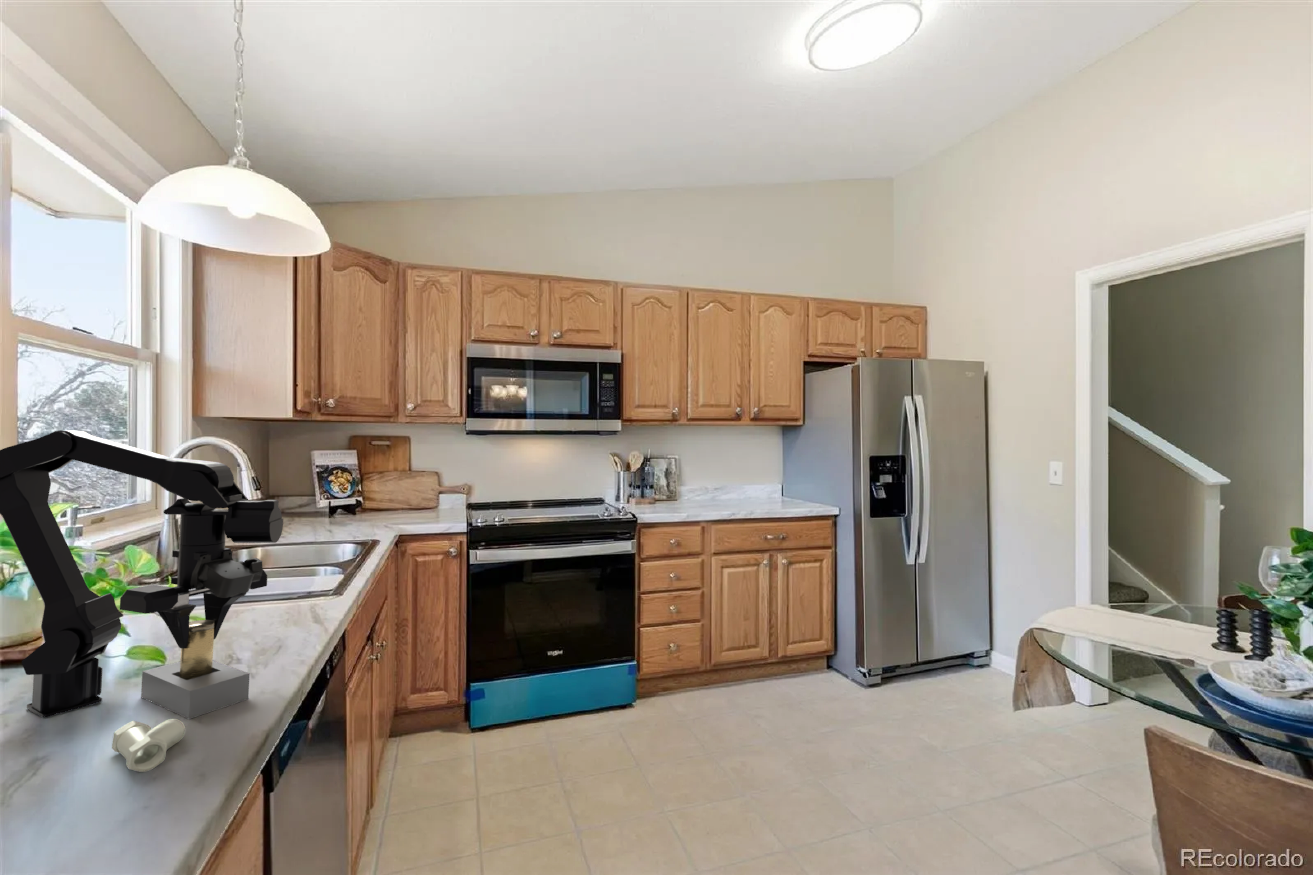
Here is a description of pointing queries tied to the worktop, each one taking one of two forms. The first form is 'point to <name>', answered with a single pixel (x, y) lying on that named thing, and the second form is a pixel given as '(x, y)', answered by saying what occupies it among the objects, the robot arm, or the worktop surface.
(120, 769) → the worktop surface
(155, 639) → the worktop surface
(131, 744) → the pipe fitting
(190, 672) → the brass plug
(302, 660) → the worktop surface
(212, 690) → the block
